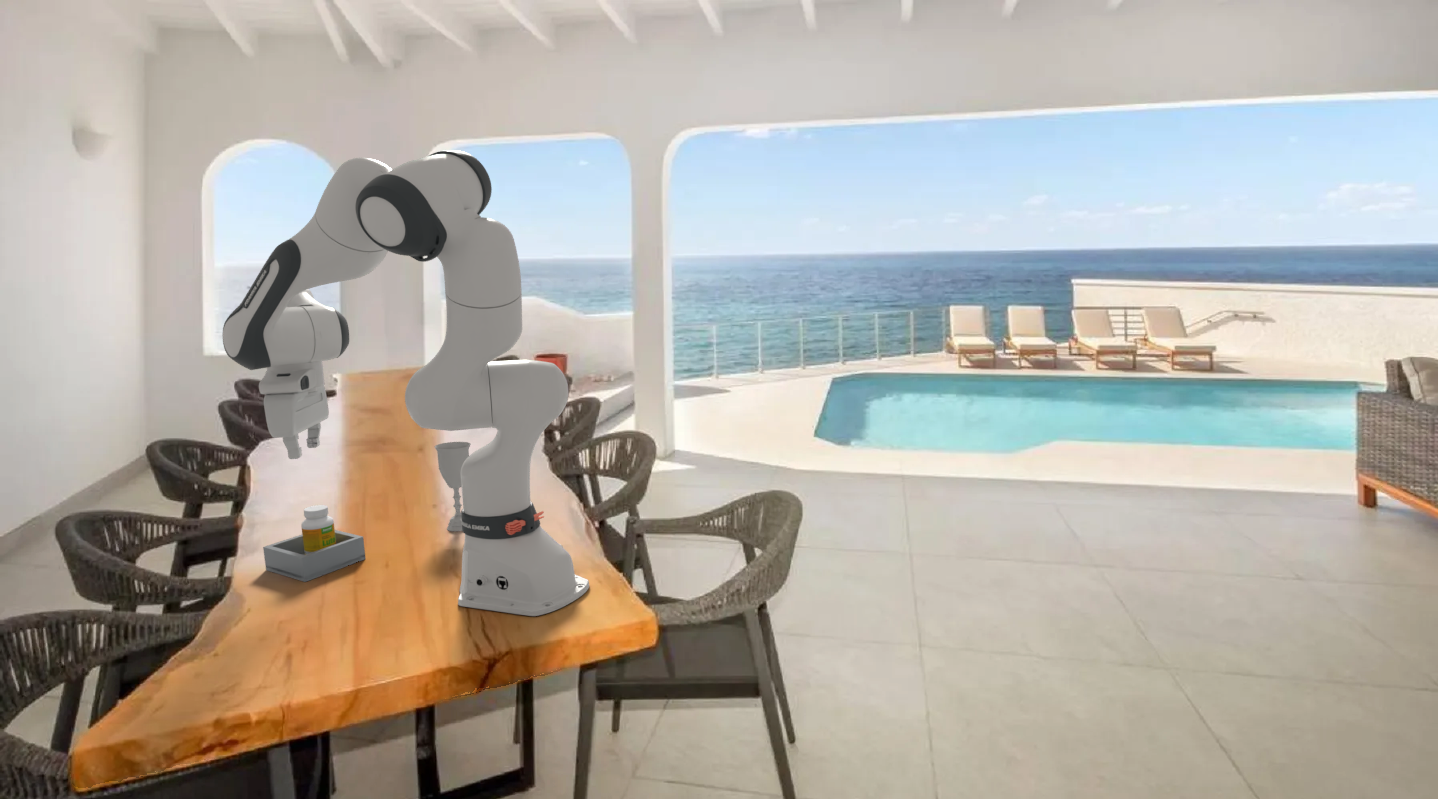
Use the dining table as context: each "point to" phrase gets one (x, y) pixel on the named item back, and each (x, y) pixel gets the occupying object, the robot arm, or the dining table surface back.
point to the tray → (313, 556)
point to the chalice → (453, 474)
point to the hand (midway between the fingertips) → (304, 452)
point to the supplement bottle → (317, 529)
